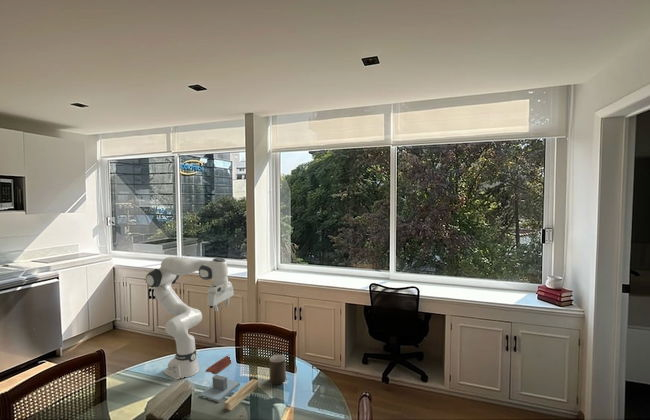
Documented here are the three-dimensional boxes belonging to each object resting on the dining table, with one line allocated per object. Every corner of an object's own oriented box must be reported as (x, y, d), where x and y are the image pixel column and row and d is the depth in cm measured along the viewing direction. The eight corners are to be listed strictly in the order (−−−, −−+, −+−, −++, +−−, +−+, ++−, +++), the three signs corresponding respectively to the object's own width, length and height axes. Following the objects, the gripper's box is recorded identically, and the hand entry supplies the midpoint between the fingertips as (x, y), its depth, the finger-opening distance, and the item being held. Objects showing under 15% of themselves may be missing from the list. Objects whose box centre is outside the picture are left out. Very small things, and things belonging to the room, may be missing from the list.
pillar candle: (278, 386, 201) (277, 362, 200) (266, 380, 207) (266, 357, 206) (289, 378, 208) (288, 355, 207) (278, 373, 214) (277, 350, 213)
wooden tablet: (216, 375, 215) (216, 373, 215) (204, 372, 219) (204, 369, 219) (242, 355, 240) (242, 353, 240) (231, 353, 244) (231, 350, 244)
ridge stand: (199, 396, 193) (199, 383, 192) (221, 379, 209) (220, 367, 209) (219, 402, 187) (218, 388, 186) (239, 384, 203) (239, 371, 203)
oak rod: (224, 409, 182) (224, 402, 181) (253, 385, 203) (252, 378, 203) (230, 411, 180) (230, 404, 180) (258, 386, 201) (258, 380, 201)
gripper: (227, 280, 212) (228, 301, 213) (205, 290, 193) (206, 313, 194) (235, 281, 210) (236, 302, 211) (214, 291, 191) (215, 314, 192)
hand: (222, 308), depth 202 cm, fingers open, 8 cm apart
